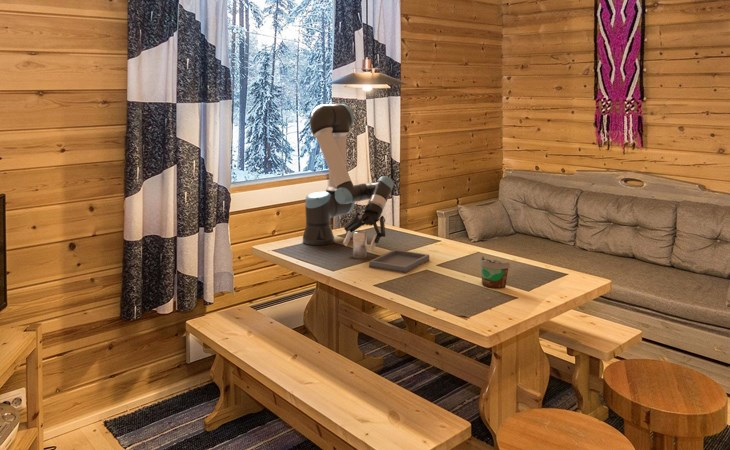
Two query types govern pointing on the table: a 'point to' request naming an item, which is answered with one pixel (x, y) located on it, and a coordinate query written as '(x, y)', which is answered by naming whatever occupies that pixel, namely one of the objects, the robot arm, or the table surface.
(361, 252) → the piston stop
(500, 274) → the food container
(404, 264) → the slate tray
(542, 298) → the table surface
